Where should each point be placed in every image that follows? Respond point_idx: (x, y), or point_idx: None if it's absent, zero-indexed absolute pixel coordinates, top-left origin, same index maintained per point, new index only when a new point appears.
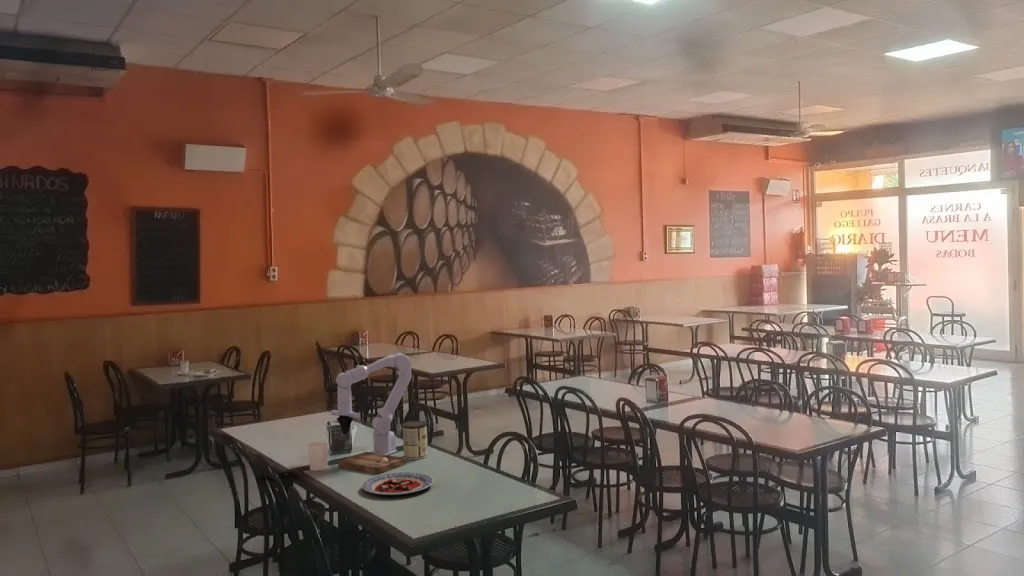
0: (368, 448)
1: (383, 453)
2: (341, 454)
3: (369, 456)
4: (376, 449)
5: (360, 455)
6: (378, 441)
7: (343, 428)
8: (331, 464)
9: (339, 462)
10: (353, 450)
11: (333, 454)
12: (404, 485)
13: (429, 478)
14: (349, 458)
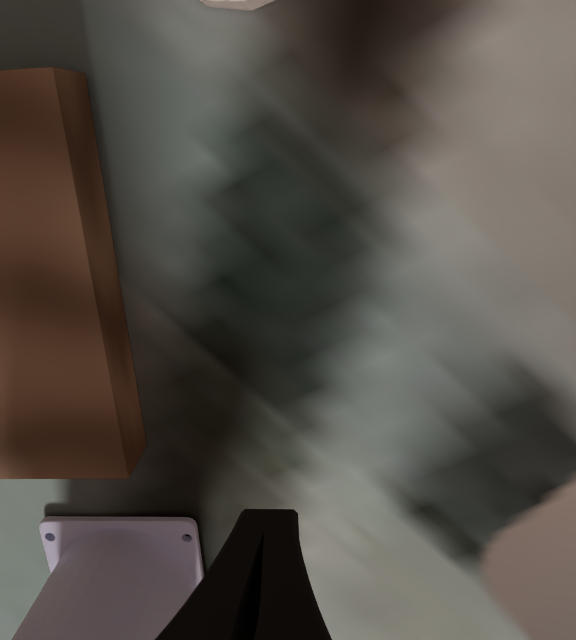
0: (356, 636)
1: (63, 554)
2: (437, 430)
3: None
4: (96, 560)
5: (52, 363)
6: (37, 633)
7: (234, 577)
8: (244, 117)
9: (39, 68)
10: (430, 557)
11: (513, 398)
12: None
13: None
14: (45, 223)
